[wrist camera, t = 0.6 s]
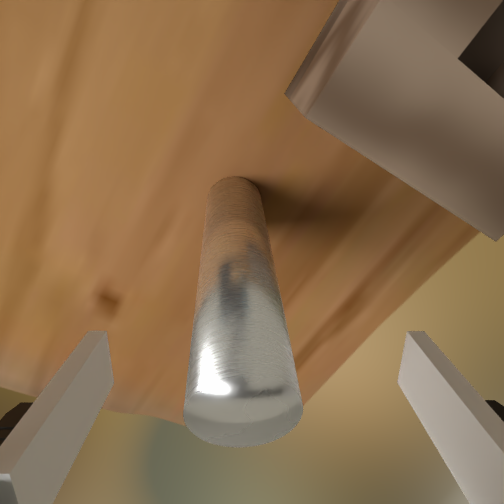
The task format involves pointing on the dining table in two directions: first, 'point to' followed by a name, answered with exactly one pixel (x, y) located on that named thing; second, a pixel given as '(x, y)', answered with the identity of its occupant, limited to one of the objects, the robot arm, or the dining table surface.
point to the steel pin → (239, 329)
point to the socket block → (417, 96)
